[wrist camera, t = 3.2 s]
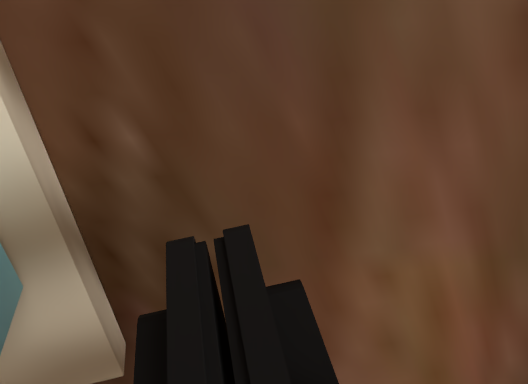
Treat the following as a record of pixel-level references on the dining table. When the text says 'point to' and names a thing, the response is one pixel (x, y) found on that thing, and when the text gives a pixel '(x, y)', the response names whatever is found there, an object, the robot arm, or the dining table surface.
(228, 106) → the dining table surface
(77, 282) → the board
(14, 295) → the sliding block
